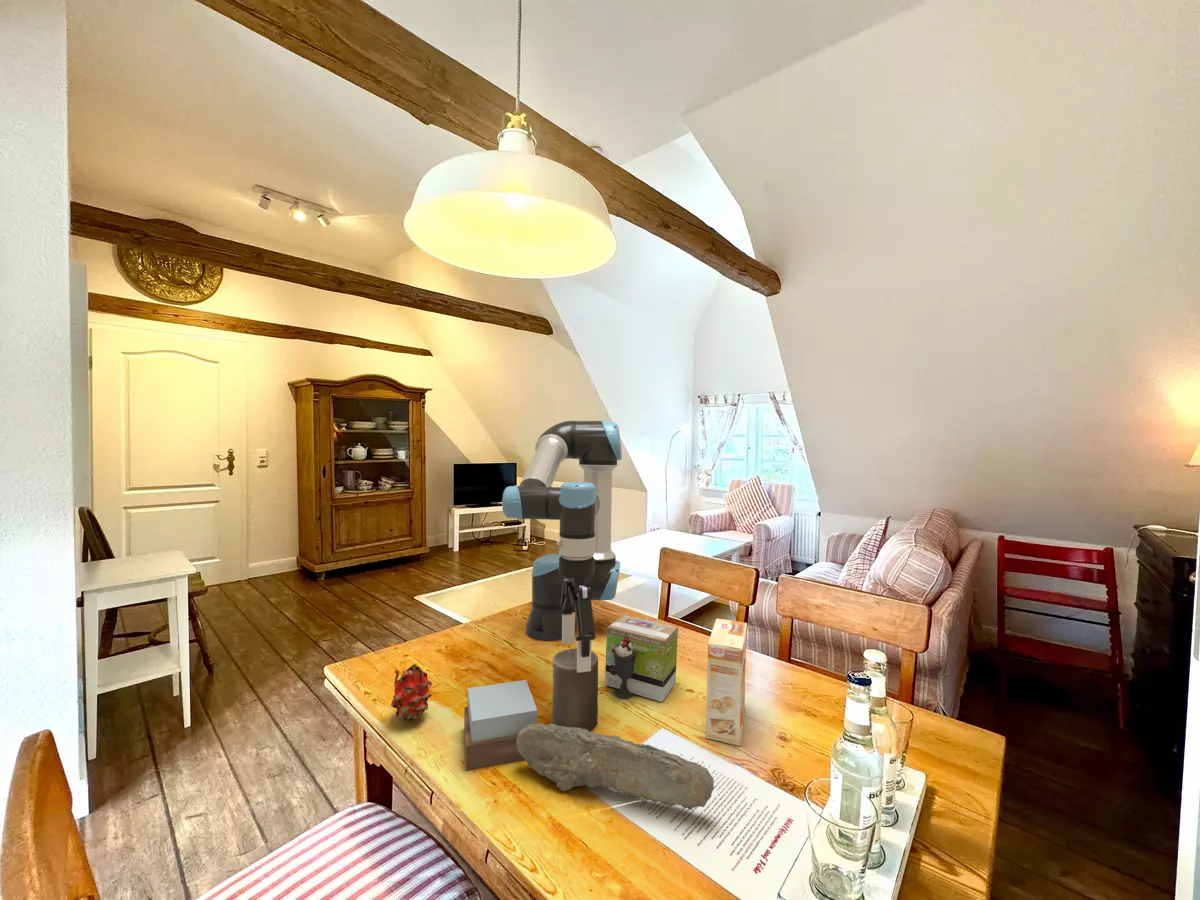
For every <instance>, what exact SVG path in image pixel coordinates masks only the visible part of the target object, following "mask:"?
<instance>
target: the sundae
mask: <svg viewBox="0 0 1200 900" xmlns="http://www.w3.org/2000/svg"><path fill="white" fill-rule="evenodd" d="M626 635H627V633H626V634H625V636H626ZM611 652H612V653H613V654H614V657H615V667H616V673H617V675H618V676H619V677H620V678H621V679H622V686H621V688H620V689H618V688H615V689H614V690H613V695H614V697H616V698H618V699H622V700H630V699H632V698H633V697H635V695H636V694H634V693H631V692H629V690H628V688H627V680H628V679H629V678H631V676H632V675H633V671H634V664H635V659H636V657H637V656H639V655H637V653H636V654H635V652H634V650H633V645H632V643H631V642H630V638H627V637H626V639H625V637H624V640H622V641H621V642H620V644H619V646H617V647H616V649H612V650H611Z"/></svg>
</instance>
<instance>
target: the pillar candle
mask: <svg viewBox="0 0 1200 900" xmlns="http://www.w3.org/2000/svg"><path fill="white" fill-rule="evenodd" d="M598 700H599V656H598V655H597V653H595V652H594V651H592V650H591V671H587V672H579V673H578V672H577V647H576V648H567V649H564V650H561V651H560V652H557V653H555V654H554V656H553V659H552V724H556V725H559V726H565V727H574V728H581V729H587V730H588V731H589V732H592V731H593V730H594V729H595V728H596V727H597V725H598V723H599V721H598V719H599V718H598V714H599V710H598V709H599V705H598V704H599V703H598V702H599V701H598Z"/></svg>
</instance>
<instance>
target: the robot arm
mask: <svg viewBox="0 0 1200 900" xmlns="http://www.w3.org/2000/svg"><path fill="white" fill-rule="evenodd" d="M534 448H535V450H534V451H535V452H534V455H533V458H532V459H531V461H530V463H529V465H528V467H527V469H526V471H525V474H524V475H523V478H522V480H521V482H520V483H519V485H513V486H512V485H511V486H510V485H509V486H507V487H505V489H504V490H503V493H502V499H501V507H502V513H503V515H504V516H505V517H506V518H508V519H517V520H551V521H553V520H555V521H559V533H558V535H559V540H557V541H556V545H557V546H559V547H558V548H559V552H557V553H551V554H545V555H542V556H539V557H538V558H535V560H534V561H533V563H532V570H531V571H532V573H531V582H532V584H531V590H532V591H531V599H532V600H531V610H530V613H529V614H528V619H527V620H526V621H527V622H526V624H525V634H526V635H527V636H528V637H529V638H531V639H533V640H537V641H541V642H556V641H561V644H562V646H563V645H572V644H575V641H576V648H577V672H578V673H579V672H587V671H591V651H592V641H594V640H595V639H596V634H595V625H594V616H593V606H592V604H593V603H592V601H599V602H602V601H611V600H613V599H615V597H616V593H617V587H618V581H619V575H620V567H621V562H620V561H619V560H616V559H617V557H616V556H617V555H616V553H615V552H614V551H613V550H612V502H613V501H612V495H613V492H612V491H613V486H612V485H613V471H614V470H615V469H616V468H617V467H618V461H620V460H622V458H623V455H622V454H623V453H622V442H621V437H620V429H619V425H618V424H617V423H616V422H614V421H606V420H567V421H562V422H559V423H557V424H555V425H552V426H551V427H549V428H547V429H546V430H545V431H544V432H543V433H542V434H541V435H539V438H538V439H537V440H536V442H535V447H534ZM565 459H567V460H570V459H572V460H574V459H575V460H578V465H579V467H580V468H581V469H582V470H583V481H569V482H563V483H562V484H561V485H560V486H557V487H555V486H553V483H554V482H555V479H556V476H557V473H558V470H559V467H560V465H561V463H563V461H565ZM576 628H577V635H578V636H576V637H575V633H576Z"/></svg>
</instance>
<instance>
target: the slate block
mask: <svg viewBox="0 0 1200 900" xmlns="http://www.w3.org/2000/svg"><path fill="white" fill-rule="evenodd" d="M467 707H468V715H469V724H470V732H471V741H472V743H473V742H479V741H484V740H490V739H495V738H501V737H506V736H512V735H517V734H519V732H520V731H521V729H522V728H523V727H525V726H526V725H529V724H538V708H537V705H536V703H535V701H534V697H533V695H532V692H531V689H530V687H529V684H528V681H527V679H523V680H515V681H508V682H503V683H501V682H500V683H495V684H488V685H487V684H486V685H481V686H472V687H468V688H467Z"/></svg>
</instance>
